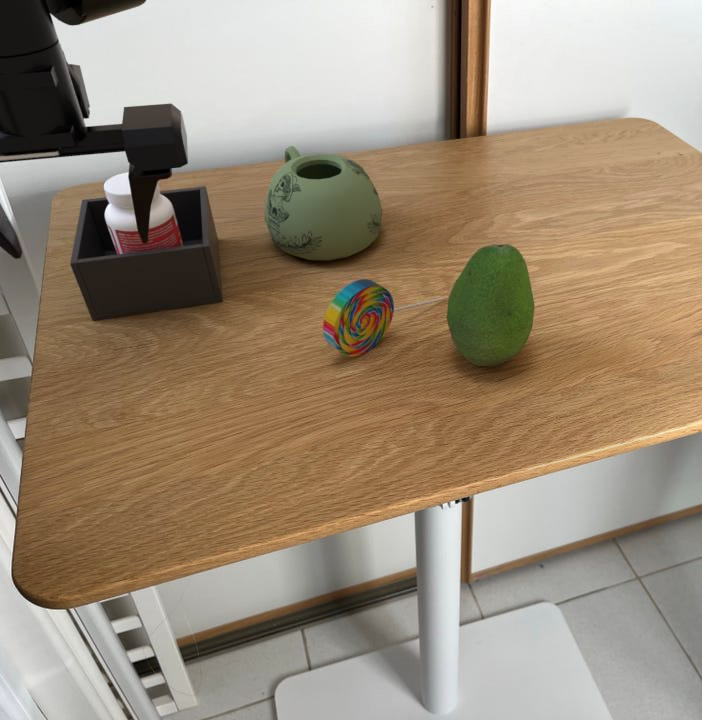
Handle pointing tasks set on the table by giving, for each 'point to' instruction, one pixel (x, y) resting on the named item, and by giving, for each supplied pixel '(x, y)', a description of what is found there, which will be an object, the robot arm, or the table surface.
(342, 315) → the lollipop
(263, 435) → the table surface
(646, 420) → the table surface
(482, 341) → the fruit
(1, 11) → the robot arm
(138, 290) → the bin
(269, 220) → the green rounded hollow pot
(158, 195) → the pill bottle
